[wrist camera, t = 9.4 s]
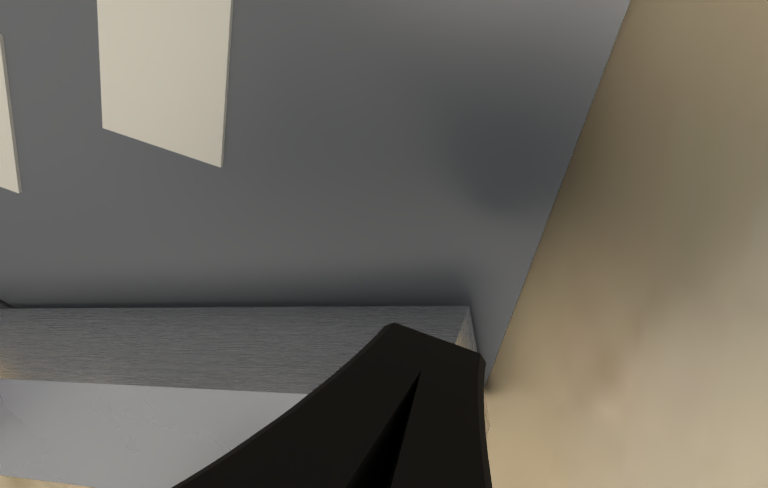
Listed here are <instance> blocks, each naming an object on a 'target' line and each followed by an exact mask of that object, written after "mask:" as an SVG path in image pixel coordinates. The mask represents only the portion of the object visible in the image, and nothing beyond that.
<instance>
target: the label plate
mask: <svg viewBox="0 0 768 488" xmlns="http://www.w3.org/2000/svg"><path fill="white" fill-rule="evenodd" d="M629 3H630V0H0V309H18V308H177V307H335V306H469V307H470V313H471V319H472V324H473V330H474V336H475V342H476V348H477V352H478V353H481V355H482V357H483V358H484V360H485V362H486V367H485V377H484V388H485V385H486V383H487V380H488V377H489V375H490V372H491V369H492V367H493V364H494V361H495V359H496V356H497V353H498V351H499V348H500V345H501V343H502V340H503V337H504V335H505V332H506V329H507V327H508V324H509V322H510V319H511V316H512V314H513V311H514V308H515V306H516V303H517V300H518V298H519V295H520V292H521V290H522V287H523V284H524V282H525V279H526V276H527V274H528V271H529V268H530V266H531V263H532V260H533V258H534V255H535V253H536V250H537V247H538V245H539V242H540V239H541V237H542V234H543V231H544V229H545V226H546V223H547V221H548V218H549V215H550V213H551V210H552V207H553V205H554V202H555V199H556V197H557V194H558V191H559V189H560V186H561V184H562V181H563V178H564V176H565V173H566V170H567V168H568V165H569V162H570V160H571V157H572V154H573V152H574V149H575V146H576V144H577V141H578V138H579V136H580V133H581V130H582V128H583V125H584V122H585V120H586V117H587V115H588V112H589V109H590V107H591V104H592V101H593V99H594V96H595V93H596V91H597V88H598V85H599V83H600V80H601V77H602V75H603V72H604V69H605V67H606V64H607V61H608V59H609V56H610V53H611V51H612V48H613V45H614V43H615V40H616V38H617V35H618V32H619V30H620V27H621V24H622V22H623V19H624V16H625V14H626V11H627V8H628V6H629Z"/></svg>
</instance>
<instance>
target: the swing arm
mask: <svg viewBox="0 0 768 488" xmlns="http://www.w3.org/2000/svg"><path fill="white" fill-rule="evenodd" d="M393 322H395V323H397V324H400V325H403V326H406V327H409V328H411V329H414V330H417V331H420V332H422V333H425V334H428V335H431V336H434V337H436V338H439V339H442V340H445V341H447V342H450V343H453V344H456V345H459V346H461V347H464V348H467V349H470V350H473V351H475V352H477V348H476V342H475V336H474V330H473V324H472V319H471V313H470V307H469V306H335V307H177V308H18V309H0V475H3V476H11V477H19V478H26V479H34V480H42V481H50V482H58V483H65V484H73V485H81V486H89V487H97V488H172V487H173V486H175V485H177V484H178V483H180V482H182V481H184V480H185V479H187V478H188V477H190V476H192V475H193V474H195V473H197V472H198V471H200V470H201V469H203V468H205V467H206V466H208V465H209V464H211V463H212V462H214V461H216V460H217V459H219V458H220V457H222V456H223V455H225V454H226V453H228V452H229V451H231V450H232V449H234V448H235V447H237V446H238V445H240V444H241V443H242V442H244V441H245V440H247V439H248V438H250V437H251V436H252V435H254V434H255V433H257V432H258V431H260V430H261V429H262V428H264V427H265V426H267V425H268V424H270V423H271V422H272V421H274V420H275V419H277V418H278V417H280V416H281V415H282V414H284V413H285V412H286V411H288V410H289V409H290V408H292V407H293V406H294V405H295V404H297V403H298V402H299V401H300V400H302V399H303V398H304V397H306V396H307V395H308V394H309V393H311V392H312V391H313V390H314V389H316V388H317V387H318V386H319V385H321V384H322V383H323V382H324V381H326V380H327V379H328V378H329V377H331V376H332V375H333V374H334V373H335V372H336V371H338V370H339V369H340V368H341V367H342V366H343V365H345V364H346V363H347V362H348V361H349V360H350V359H351V358H353V357H354V356H355V355H356V354H357V353H358V352H359V351H360V350H361V349H362V348H363V347H364V346H366V345H367V344H368V343H369V342H370V341H371V340H372V339H373V338H374V337H375V336H376V335H377V334H378V332H379V331H380V330H381V329H382V328H383V327H384V326H386V325H388V324H391V323H393ZM484 414H485V430H486V438H487V434H488V430H489V426H490V423H489V417H488V411H487V406H486V400H485V394H484Z"/></svg>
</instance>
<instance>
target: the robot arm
mask: <svg viewBox="0 0 768 488" xmlns="http://www.w3.org/2000/svg"><path fill="white" fill-rule="evenodd" d="M485 367H486V362H485V360H484V358H483V357H482V355H481V353H478V352H475V351H473V350H470V349H467V348H464V347H461V346H459V345H456V344H453V343H450V342H447V341H445V340H442V339H439V338H436V337H434V336H431V335H428V334H425V333H422V332H420V331H417V330H414V329H411V328H409V327H406V326H403V325H400V324H397V323H395V322H393V323H391V324H388V325H386V326H384V327H383V328H382V329H381V330H380V331H379V332H378V334H377V335H376V336H375V337H374V338H373V339H372V340H371V341H370V342H369V343H368V344H367V345H366V346H364V347H363V348H362V349H361V350H360V351H359V352H358V353H357V354H356V355H355V356H354V357H353V358H351V359H350V360H349V361H348V362H347V363H346V364H345V365H343V366H342V367H341V368H340V369H339V370H338V371H336V372H335V373H334V374H333V375H332V376H331V377H329V378H328V379H327V380H326V381H324V382H323V383H322V384H321V385H319V386H318V387H317V388H316V389H314V390H313V391H312V392H311V393H309V394H308V395H307V396H306V397H304V398H303V399H302V400H300V401H299V402H298V403H297V404H295V405H294V406H293V407H292V408H290V409H289V410H288V411H286V412H285V413H284V414H282V415H281V416H280V417H278V418H277V419H275V420H274V421H272V422H271V423H270V424H268V425H267V426H265V427H264V428H262V429H261V430H260V431H258V432H257V433H255V434H254V435H252V436H251V437H250V438H248V439H247V440H245V441H244V442H242V443H241V444H240V445H238V446H237V447H235V448H234V449H232V450H231V451H229V452H228V453H226V454H225V455H223V456H222V457H220V458H219V459H217V460H216V461H214V462H212V463H211V464H209V465H208V466H206V467H205V468H203V469H201V470H200V471H198V472H197V473H195V474H193V475H192V476H190V477H188V478H187V479H185V480H184V481H182V482H180V483H178V484H177V485H175V486H173V487H172V488H492V482H491V475H490V468H489V460H488V452H487V442H486V430H485V414H484V377H485Z"/></svg>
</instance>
